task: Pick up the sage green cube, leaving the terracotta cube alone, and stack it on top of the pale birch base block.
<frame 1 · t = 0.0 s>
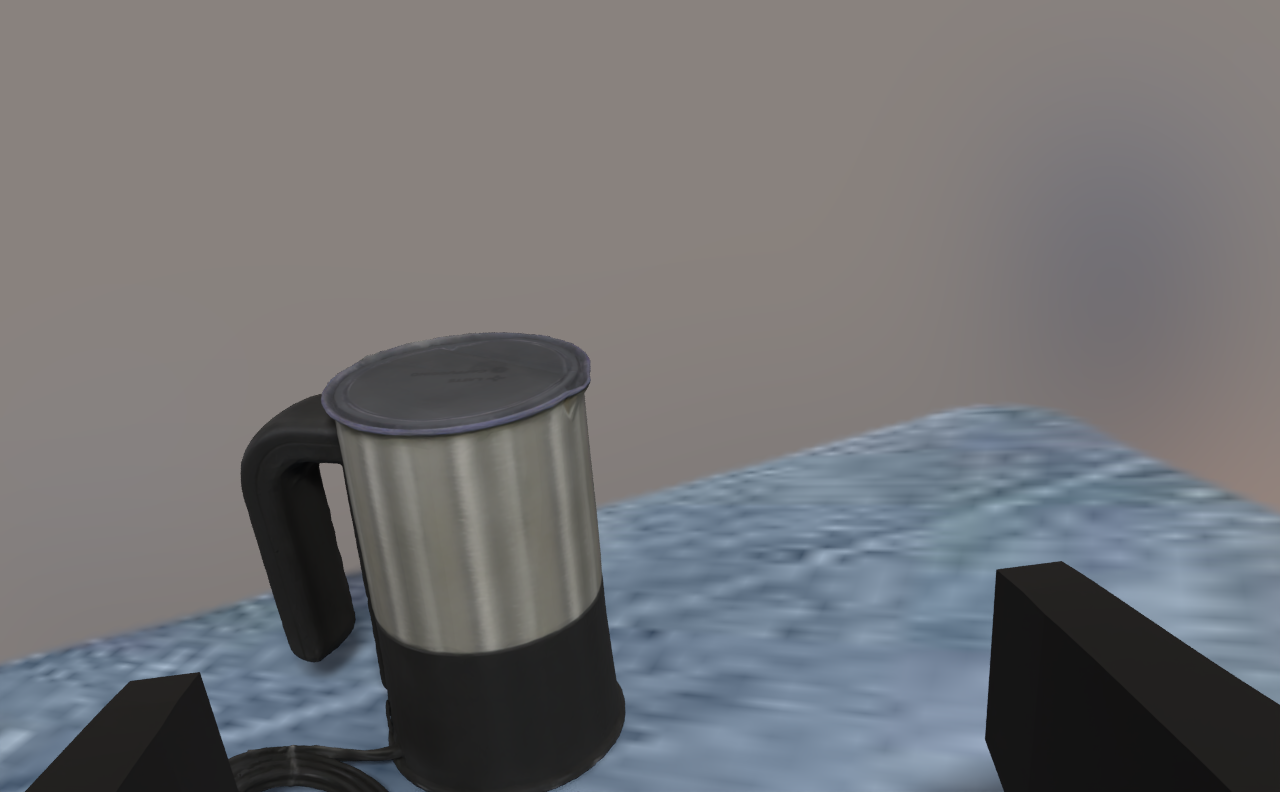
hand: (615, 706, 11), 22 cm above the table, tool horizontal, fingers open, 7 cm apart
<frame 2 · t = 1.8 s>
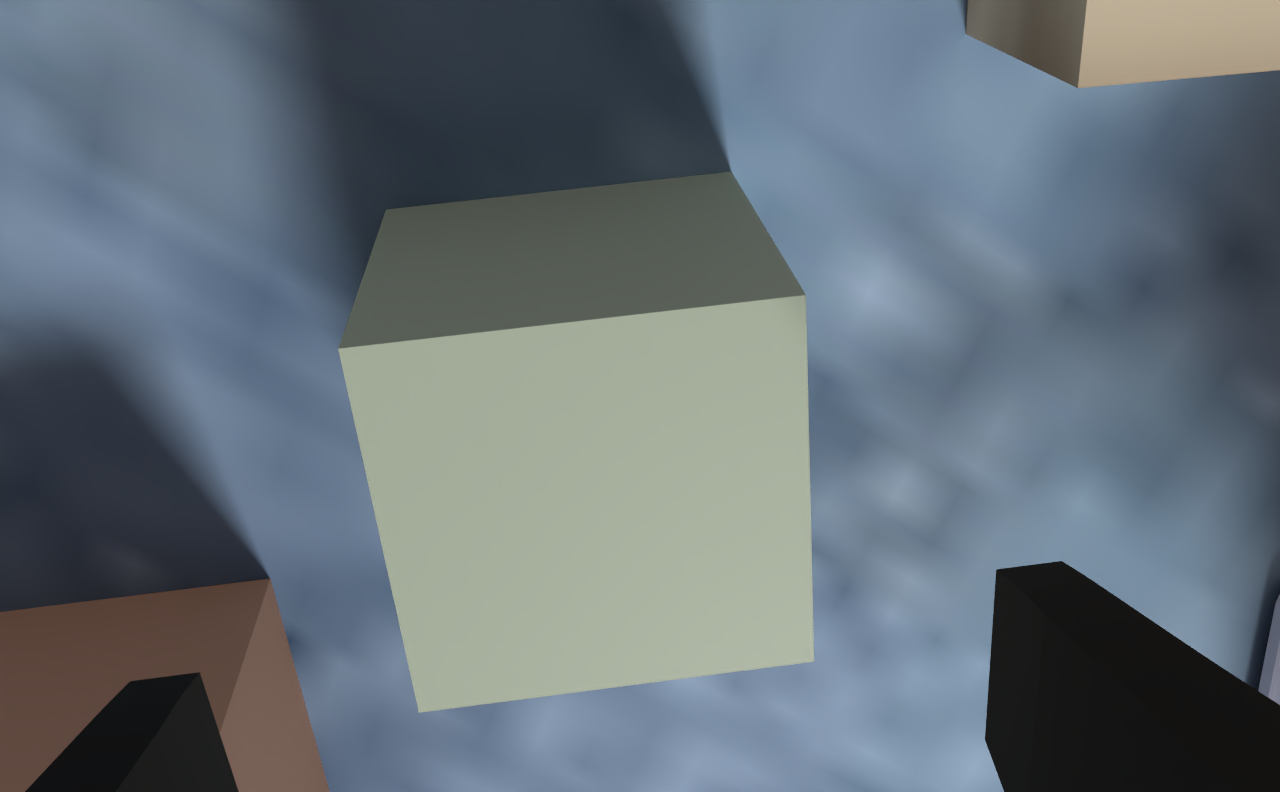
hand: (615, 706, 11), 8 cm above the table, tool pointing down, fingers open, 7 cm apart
sage cube: (578, 345, 18), on the table
terracotta cube: (159, 711, 20), on the table
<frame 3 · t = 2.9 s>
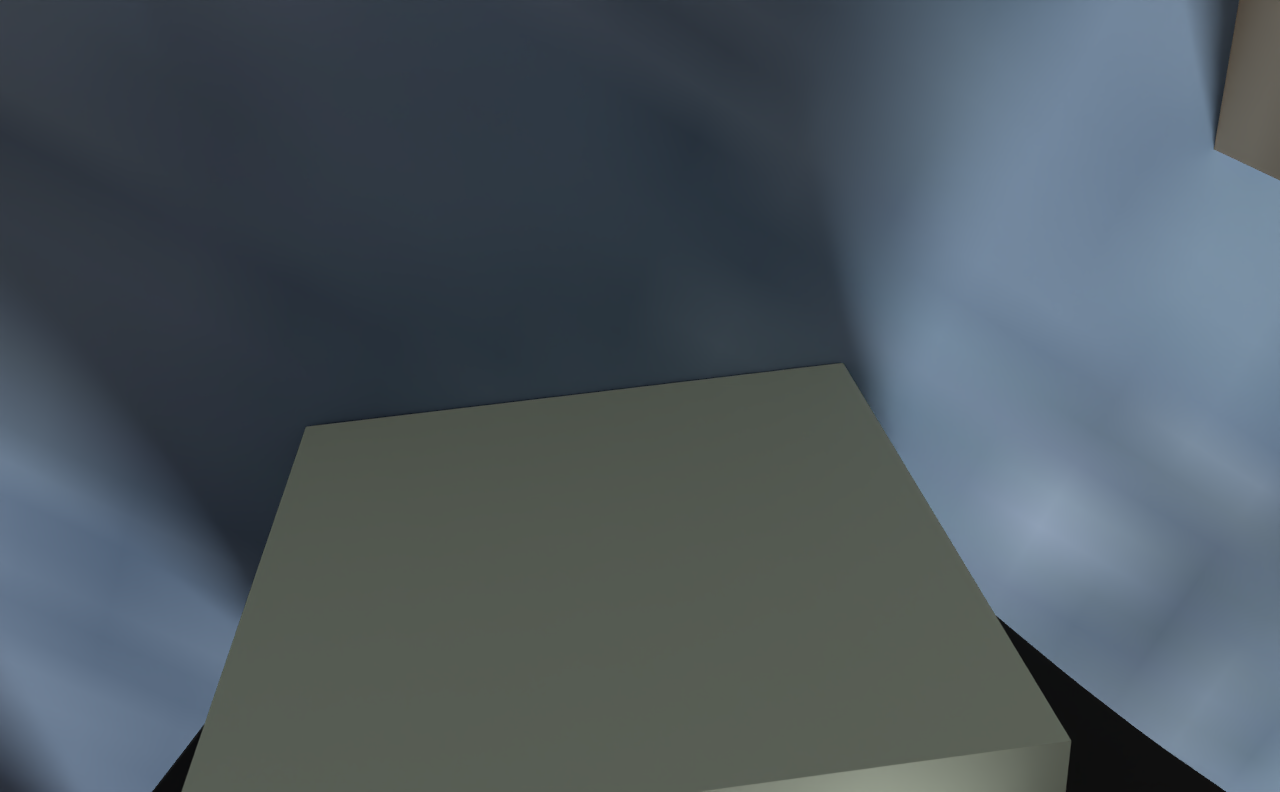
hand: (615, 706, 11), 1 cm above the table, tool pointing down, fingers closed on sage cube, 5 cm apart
sage cube: (603, 611, 12), on the table, touching gripper
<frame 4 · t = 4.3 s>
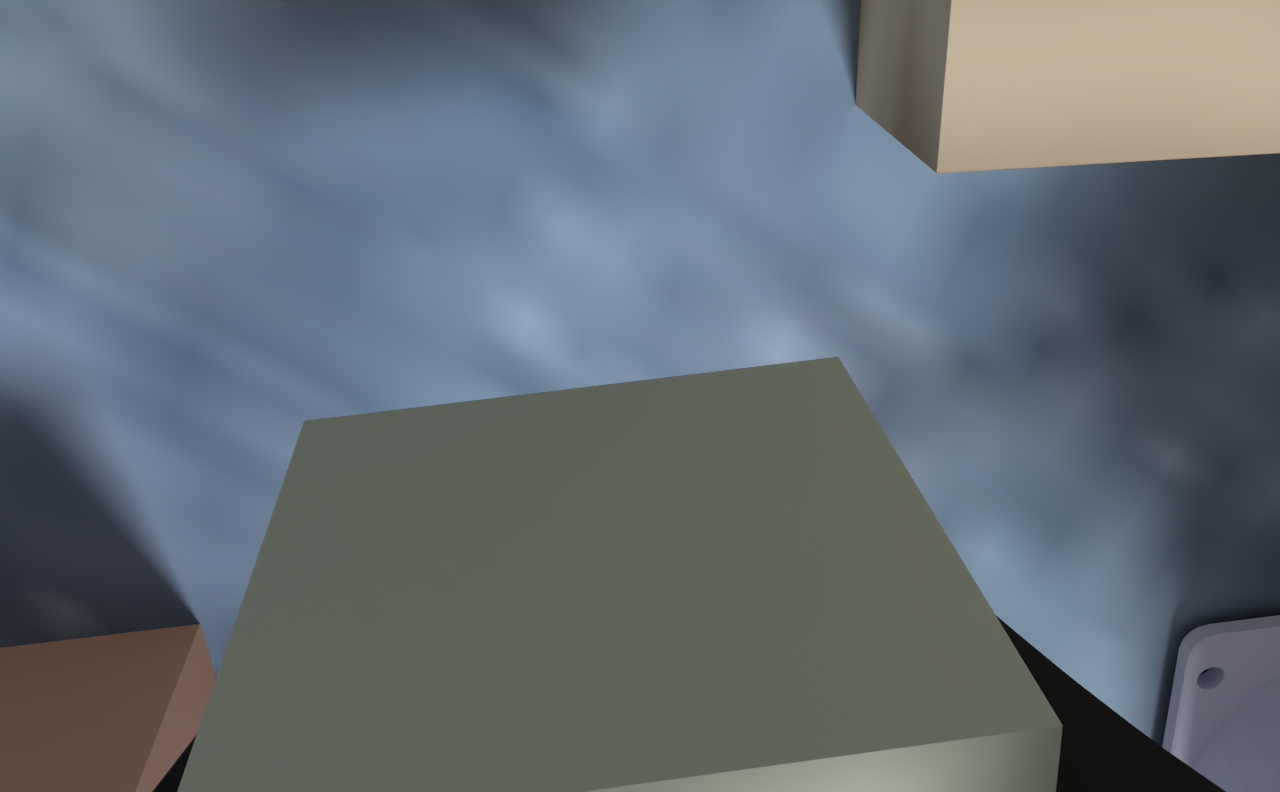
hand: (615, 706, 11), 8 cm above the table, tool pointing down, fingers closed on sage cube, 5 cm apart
sage cube: (600, 605, 12), point 7 cm above the table, touching gripper
terracotta cube: (94, 749, 21), on the table
when the fingers open (6 cm above the table, at t = 6.0 s): sage cube drops 1 cm, resting on base block.
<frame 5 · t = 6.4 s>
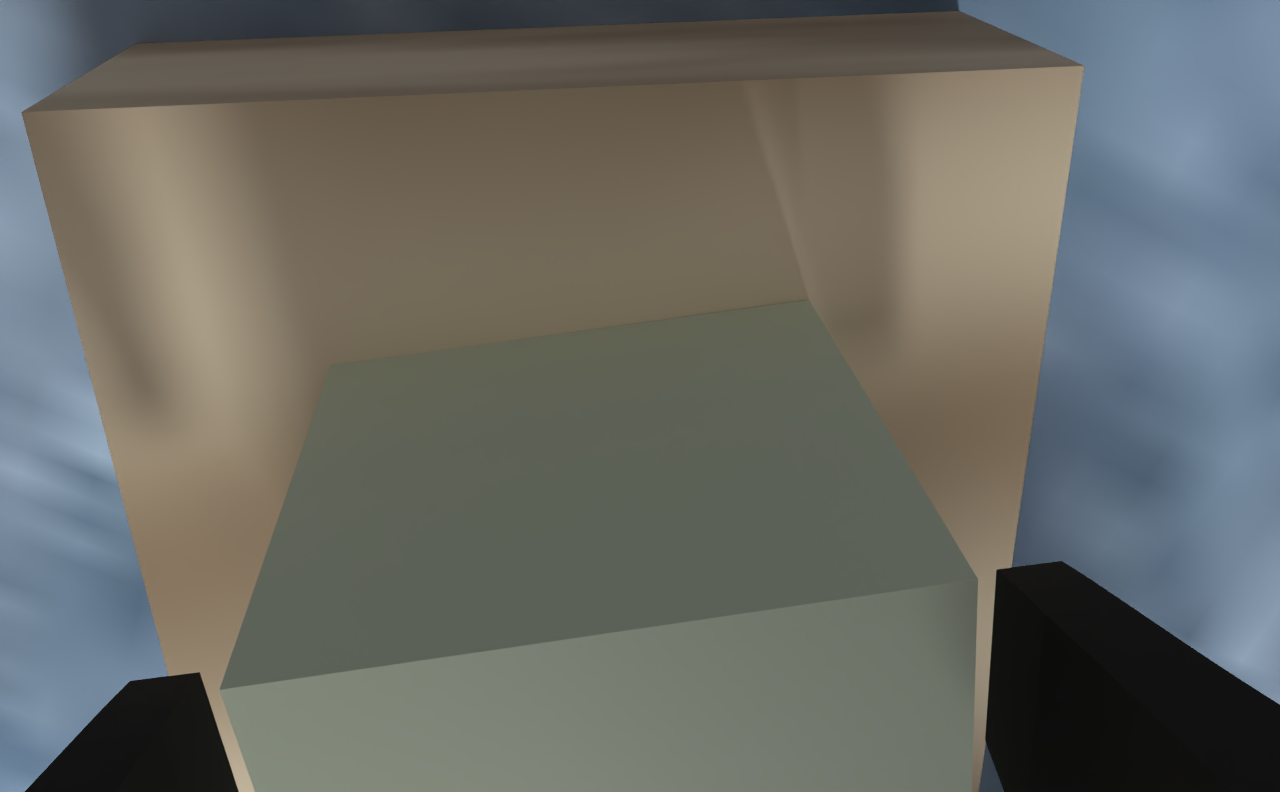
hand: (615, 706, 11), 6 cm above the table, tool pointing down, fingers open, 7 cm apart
base block: (576, 381, 17), on the table, touching sage cube
sage cube: (601, 532, 13), point 4 cm above the table, touching base block
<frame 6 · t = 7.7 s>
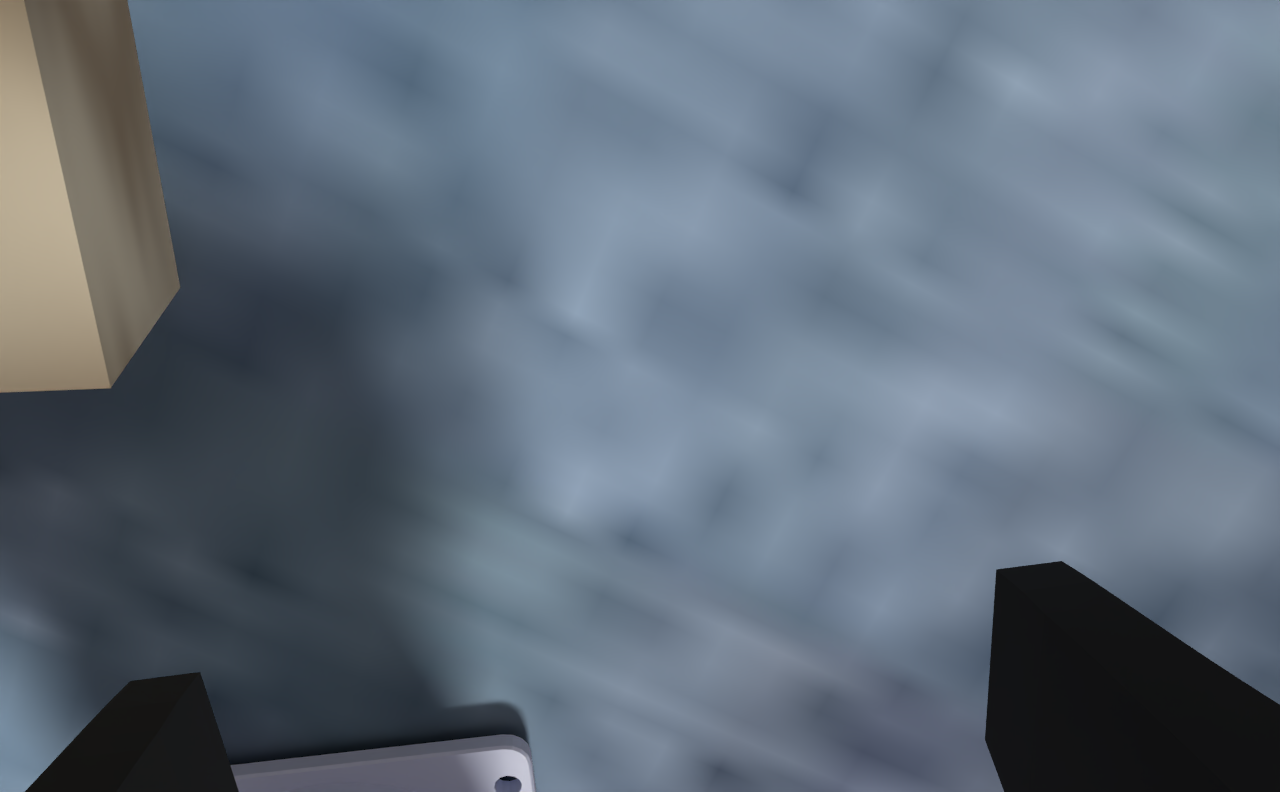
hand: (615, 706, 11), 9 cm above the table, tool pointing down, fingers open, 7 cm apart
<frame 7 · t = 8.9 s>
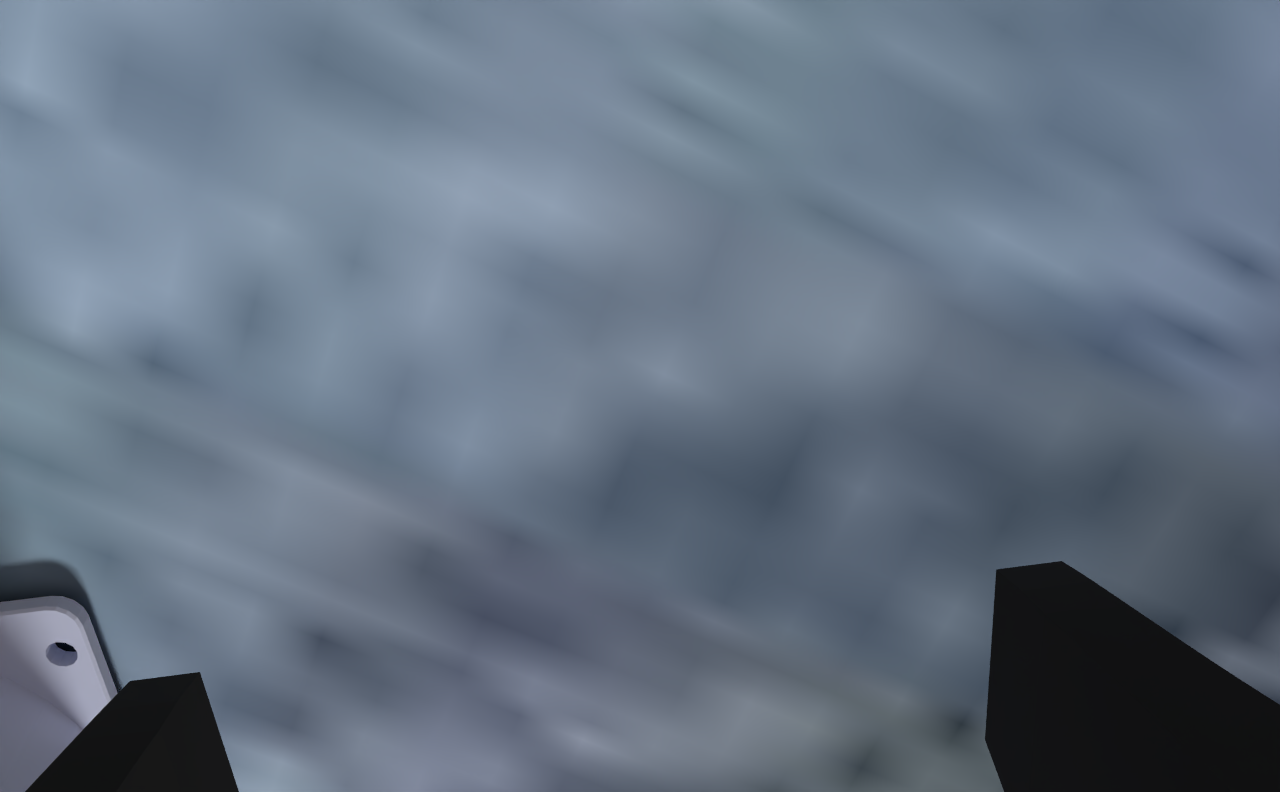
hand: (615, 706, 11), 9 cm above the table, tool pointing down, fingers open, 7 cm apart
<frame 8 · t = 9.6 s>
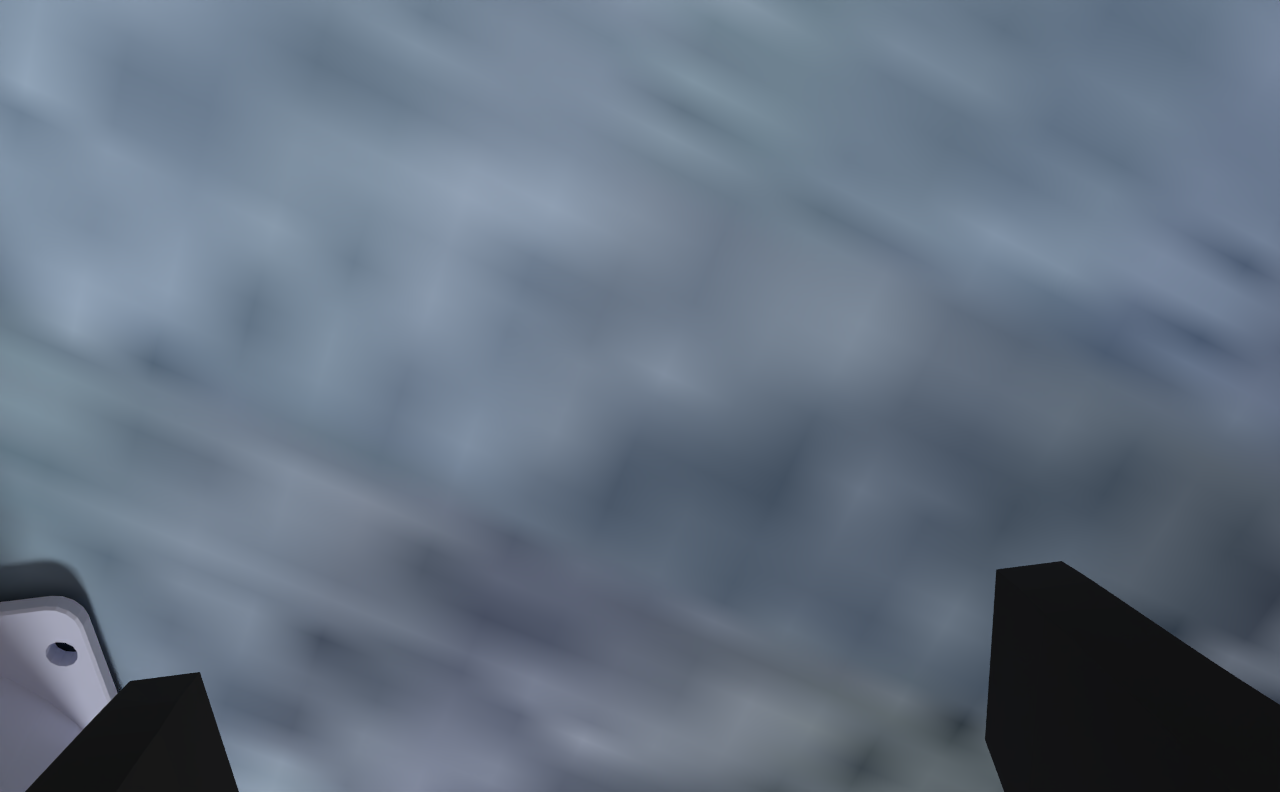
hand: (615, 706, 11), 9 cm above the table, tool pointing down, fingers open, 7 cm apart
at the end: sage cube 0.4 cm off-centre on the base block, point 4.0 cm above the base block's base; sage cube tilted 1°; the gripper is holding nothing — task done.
